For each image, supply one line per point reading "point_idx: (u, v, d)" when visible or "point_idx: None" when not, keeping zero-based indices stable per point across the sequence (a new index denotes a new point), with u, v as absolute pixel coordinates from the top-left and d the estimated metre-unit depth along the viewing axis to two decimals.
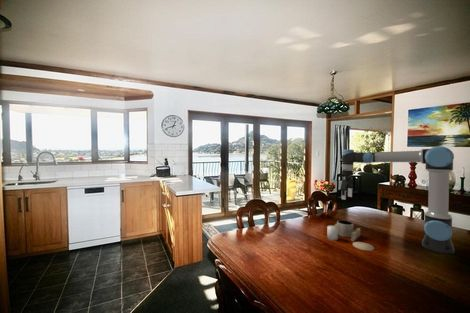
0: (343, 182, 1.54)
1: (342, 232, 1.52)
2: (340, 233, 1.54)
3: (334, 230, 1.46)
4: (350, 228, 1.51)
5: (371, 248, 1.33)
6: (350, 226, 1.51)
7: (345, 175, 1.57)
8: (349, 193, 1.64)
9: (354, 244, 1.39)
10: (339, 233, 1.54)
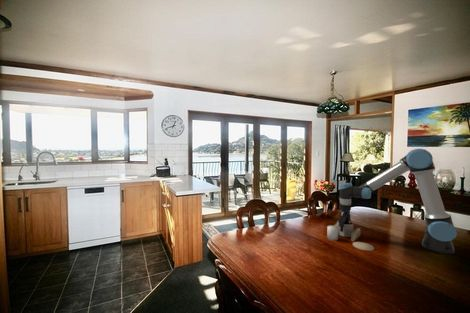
0: (341, 218, 1.51)
1: None
2: None
3: (334, 230, 1.46)
4: (350, 228, 1.51)
5: (371, 248, 1.33)
6: (350, 226, 1.51)
7: (343, 210, 1.53)
8: None
9: (354, 244, 1.39)
10: (339, 233, 1.54)
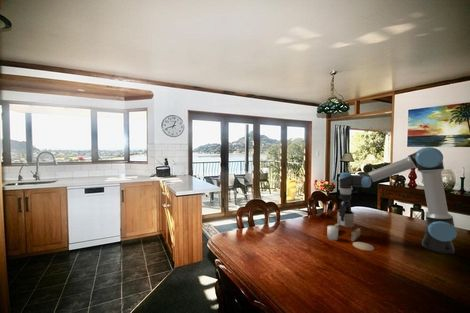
0: (341, 208, 1.51)
1: None
2: None
3: (334, 230, 1.46)
4: (351, 217, 1.51)
5: (371, 248, 1.33)
6: (351, 215, 1.51)
7: (343, 199, 1.53)
8: None
9: (354, 244, 1.39)
10: (340, 223, 1.54)
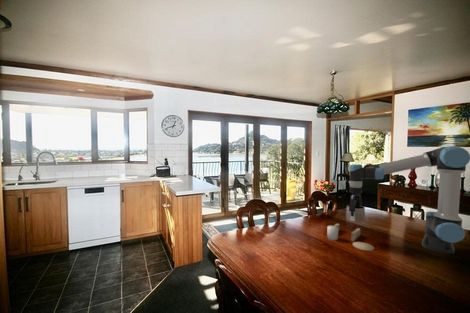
0: (351, 202, 1.40)
1: None
2: None
3: (334, 230, 1.46)
4: (361, 212, 1.40)
5: (371, 248, 1.33)
6: (361, 210, 1.40)
7: (353, 193, 1.42)
8: None
9: (354, 244, 1.39)
10: None
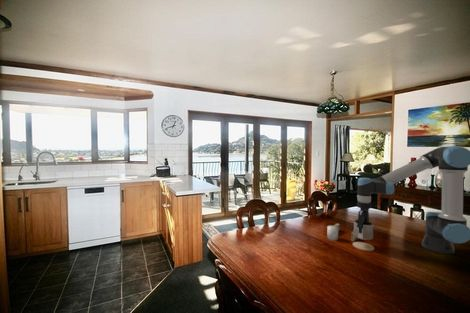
0: (360, 218, 1.32)
1: None
2: None
3: (334, 230, 1.46)
4: (370, 229, 1.32)
5: (371, 248, 1.33)
6: (370, 227, 1.32)
7: (361, 208, 1.34)
8: None
9: (354, 244, 1.39)
10: (357, 235, 1.35)
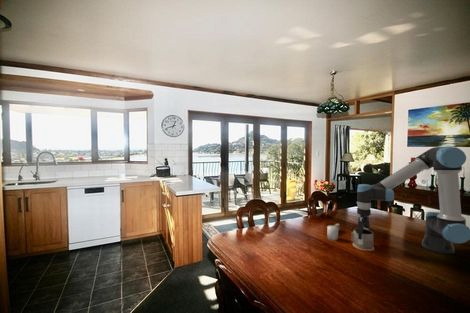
0: (360, 224, 1.31)
1: None
2: (358, 244, 1.34)
3: (334, 230, 1.46)
4: (370, 238, 1.32)
5: None
6: (370, 236, 1.32)
7: (361, 215, 1.34)
8: None
9: None
10: (357, 244, 1.35)
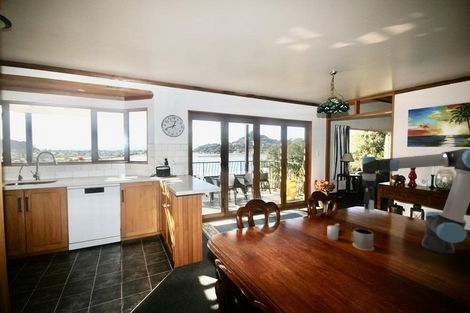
0: (366, 194, 1.34)
1: (361, 243, 1.33)
2: (358, 244, 1.34)
3: (334, 230, 1.46)
4: (370, 238, 1.32)
5: None
6: (370, 236, 1.32)
7: (367, 186, 1.37)
8: (370, 205, 1.45)
9: None
10: (357, 244, 1.35)
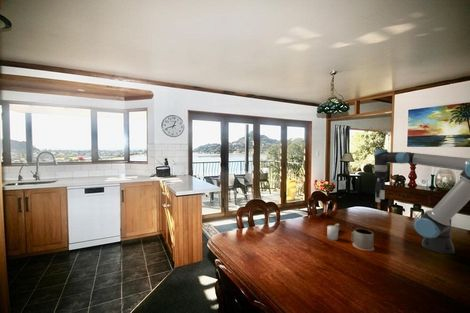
0: (377, 184, 1.46)
1: (361, 243, 1.33)
2: (358, 244, 1.34)
3: (334, 230, 1.46)
4: (370, 238, 1.32)
5: None
6: (370, 236, 1.32)
7: (379, 176, 1.48)
8: (381, 195, 1.56)
9: (354, 244, 1.39)
10: (357, 244, 1.35)
